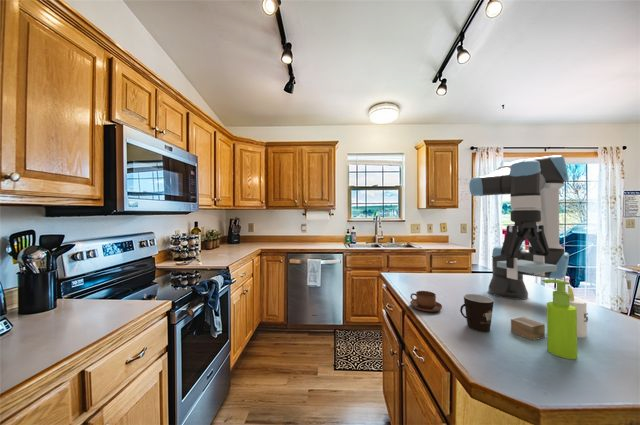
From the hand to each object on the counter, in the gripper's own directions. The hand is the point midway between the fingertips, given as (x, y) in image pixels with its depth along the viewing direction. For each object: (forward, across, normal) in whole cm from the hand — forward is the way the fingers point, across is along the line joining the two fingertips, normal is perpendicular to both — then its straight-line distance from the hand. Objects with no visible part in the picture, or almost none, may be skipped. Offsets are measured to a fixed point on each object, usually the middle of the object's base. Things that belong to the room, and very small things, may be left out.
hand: (526, 276), depth 79 cm
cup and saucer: (+19, +15, -28) cm, 37 cm away
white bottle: (+19, -15, +4) cm, 24 cm away
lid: (-3, 0, 0) cm, 3 cm away
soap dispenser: (+18, +3, +10) cm, 21 cm away
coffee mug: (+18, +12, -9) cm, 24 cm away
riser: (+18, 0, 0) cm, 18 cm away
